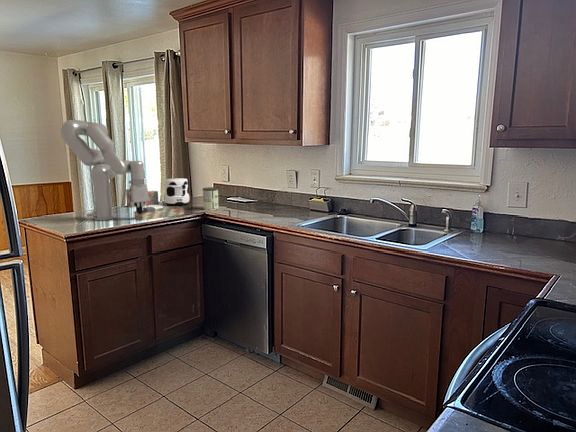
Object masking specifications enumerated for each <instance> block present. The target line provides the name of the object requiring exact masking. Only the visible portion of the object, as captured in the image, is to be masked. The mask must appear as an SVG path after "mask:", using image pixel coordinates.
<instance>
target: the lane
mask: <svg viewBox="0 0 576 432" xmlns="http://www.w3.org/2000/svg"><path fill="white" fill-rule="evenodd" d="M182 215H185V208H184V207H180V206H178V205H173V206H167V207H166V206H165V207H158V208H155V212H147V213H143V212H142V213H141V214H137V210H134V211H133V216H134V219H136V220H139V221H148V220H153V219H155V220H156V219H161V218H166V217H174V216H182Z"/></svg>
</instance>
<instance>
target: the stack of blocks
mask: <svg viewBox="0 0 576 432" xmlns="http://www.w3.org/2000/svg"><path fill="white" fill-rule="evenodd" d="M129 190H130V188H127V189H125V196H126V197H125V198H126V207H127V206H128V207H127V208H136V207H135V205H131V204H130V200H129ZM148 195H149V200H148V203H145V204H144V205H143V207H148V206H153V205H159V191H158V190H148ZM133 203H134V202H133Z"/></svg>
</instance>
